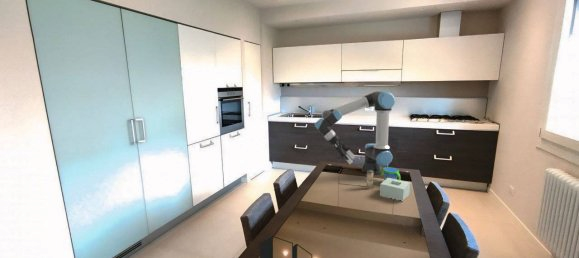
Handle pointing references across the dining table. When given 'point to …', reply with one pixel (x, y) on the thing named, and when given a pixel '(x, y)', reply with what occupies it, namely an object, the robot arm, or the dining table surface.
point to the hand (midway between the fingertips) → (352, 160)
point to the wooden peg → (369, 179)
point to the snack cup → (390, 173)
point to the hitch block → (394, 189)
